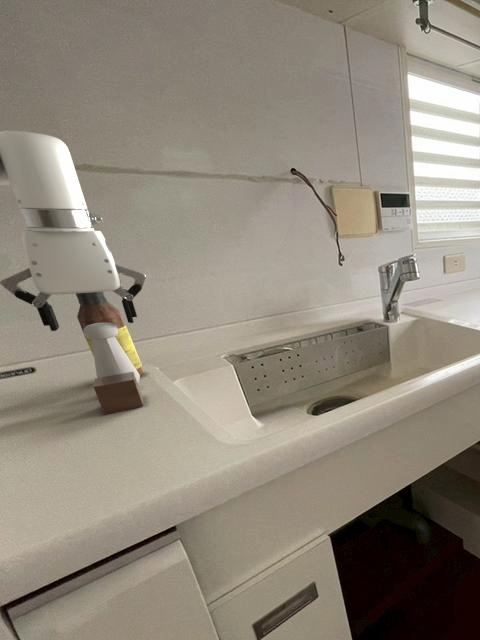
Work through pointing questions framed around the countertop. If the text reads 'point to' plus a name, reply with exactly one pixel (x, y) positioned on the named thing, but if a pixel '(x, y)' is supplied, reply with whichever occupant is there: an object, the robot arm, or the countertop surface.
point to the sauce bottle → (102, 311)
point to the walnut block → (118, 392)
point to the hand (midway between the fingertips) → (94, 325)
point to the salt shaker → (108, 351)
